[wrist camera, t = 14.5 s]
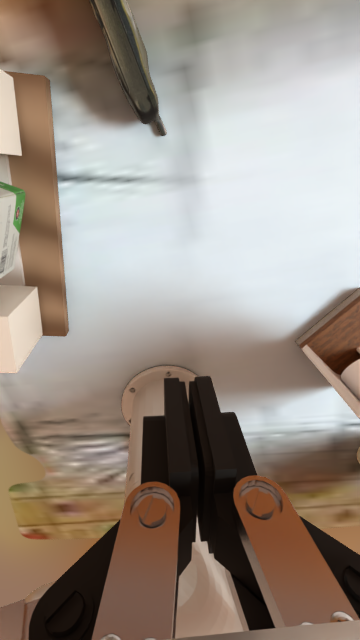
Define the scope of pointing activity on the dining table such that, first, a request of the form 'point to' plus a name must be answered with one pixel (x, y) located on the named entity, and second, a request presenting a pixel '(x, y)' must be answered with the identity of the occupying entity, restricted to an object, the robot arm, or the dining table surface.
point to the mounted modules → (6, 300)
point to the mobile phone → (129, 58)
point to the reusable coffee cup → (358, 455)
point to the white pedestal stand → (338, 349)
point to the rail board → (37, 203)
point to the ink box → (10, 225)
